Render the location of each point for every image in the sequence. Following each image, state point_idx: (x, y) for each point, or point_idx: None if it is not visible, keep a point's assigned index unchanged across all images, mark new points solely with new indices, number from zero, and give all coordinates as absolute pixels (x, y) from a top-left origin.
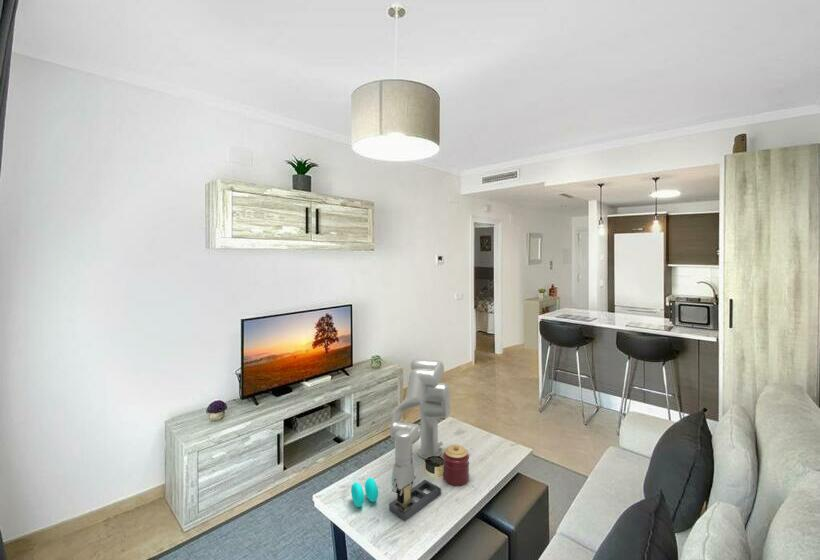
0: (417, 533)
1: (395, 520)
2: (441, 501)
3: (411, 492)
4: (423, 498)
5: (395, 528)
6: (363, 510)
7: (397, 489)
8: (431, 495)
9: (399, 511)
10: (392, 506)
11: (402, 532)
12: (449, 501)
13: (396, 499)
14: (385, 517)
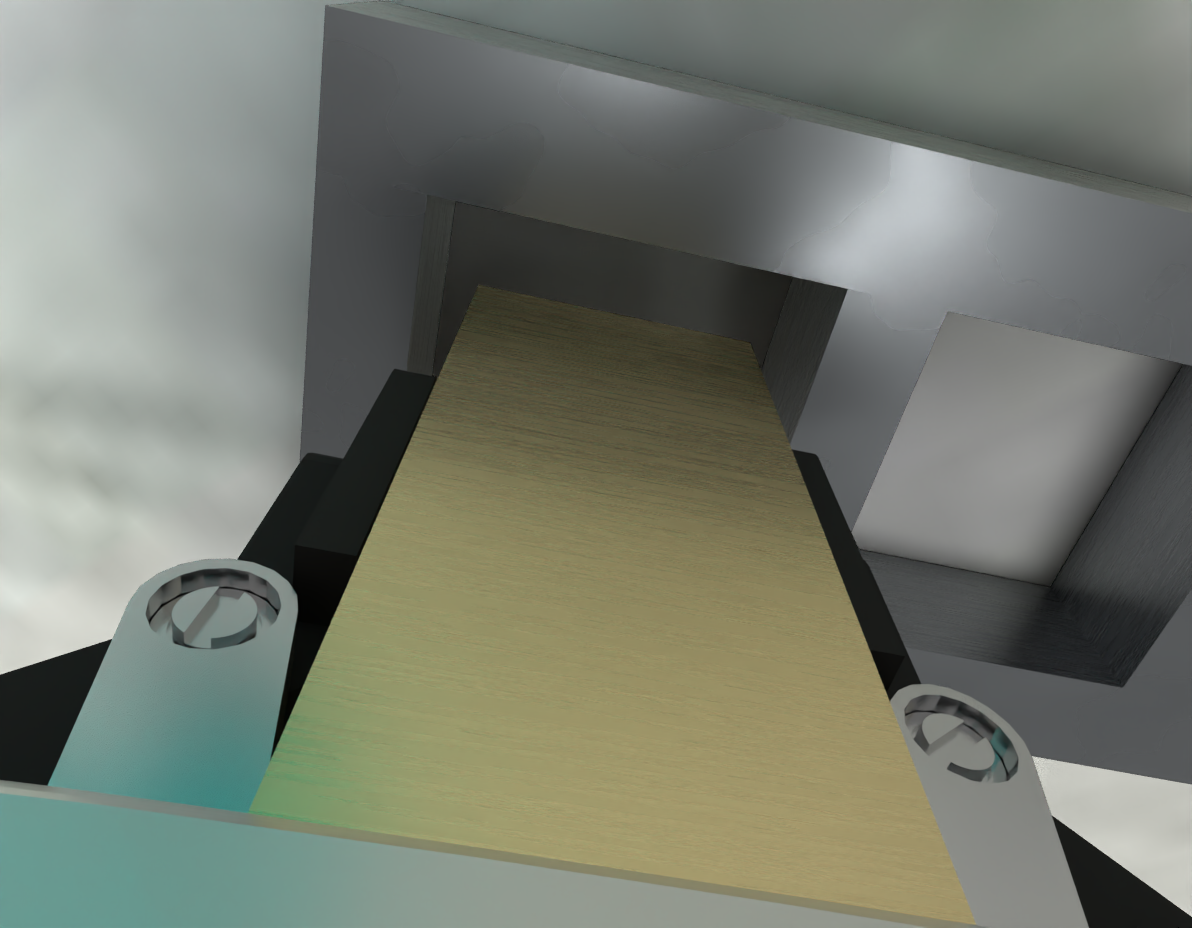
0: None
1: (227, 352)
2: (1153, 790)
3: (1171, 352)
4: (1005, 699)
5: (66, 468)
6: None
7: (132, 765)
8: (1171, 777)
9: (302, 455)
10: (315, 185)
11: (99, 610)
12: (1187, 873)
13: (656, 112)
14: (122, 79)
